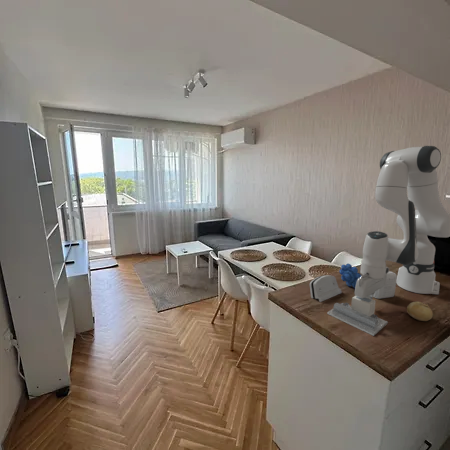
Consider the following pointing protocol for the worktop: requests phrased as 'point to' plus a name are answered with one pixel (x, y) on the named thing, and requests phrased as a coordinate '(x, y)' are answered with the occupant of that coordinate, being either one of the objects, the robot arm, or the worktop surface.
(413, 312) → the onion
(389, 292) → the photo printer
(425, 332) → the worktop surface
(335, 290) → the white toaster
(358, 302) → the block
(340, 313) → the rail base
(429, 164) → the robot arm
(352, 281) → the grapes
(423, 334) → the worktop surface
